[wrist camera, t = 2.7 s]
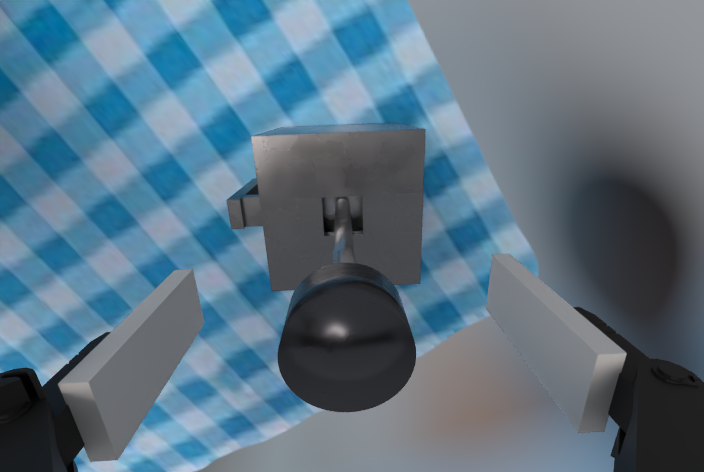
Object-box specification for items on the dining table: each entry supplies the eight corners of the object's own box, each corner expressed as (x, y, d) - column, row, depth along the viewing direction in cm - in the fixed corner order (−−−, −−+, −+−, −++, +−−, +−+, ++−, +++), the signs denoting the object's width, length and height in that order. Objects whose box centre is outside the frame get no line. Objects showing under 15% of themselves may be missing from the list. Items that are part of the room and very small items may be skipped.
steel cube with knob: (395, 122, 37) (425, 129, 24) (394, 228, 41) (420, 283, 28) (254, 128, 37) (207, 138, 24) (267, 234, 41) (234, 292, 28)
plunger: (393, 149, 28) (495, 224, 10) (392, 248, 31) (470, 449, 13) (286, 154, 28) (183, 239, 9) (296, 253, 31) (232, 463, 12)
